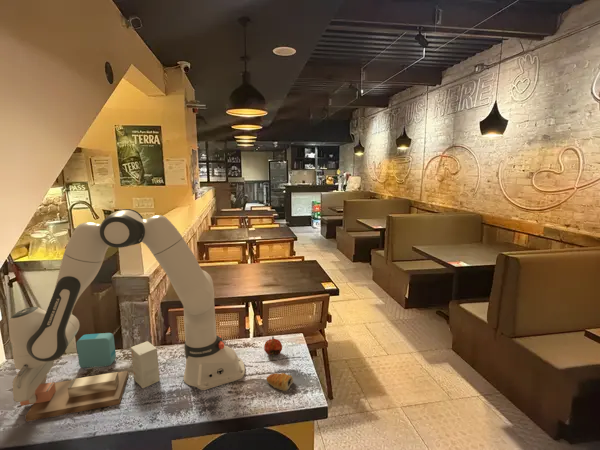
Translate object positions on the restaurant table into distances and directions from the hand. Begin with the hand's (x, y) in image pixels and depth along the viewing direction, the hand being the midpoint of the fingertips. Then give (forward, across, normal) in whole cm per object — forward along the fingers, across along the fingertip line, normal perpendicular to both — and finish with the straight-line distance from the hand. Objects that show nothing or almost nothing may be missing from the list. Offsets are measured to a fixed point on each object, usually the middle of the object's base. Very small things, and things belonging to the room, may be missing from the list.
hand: (38, 395), depth 111 cm
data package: (+4, +20, -12) cm, 24 cm away
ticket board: (+3, 0, -12) cm, 13 cm away
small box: (+4, +3, -32) cm, 33 cm away
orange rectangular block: (+1, 0, 0) cm, 1 cm away
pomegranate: (+4, +5, -80) cm, 81 cm away
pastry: (+4, -14, -79) cm, 80 cm away
